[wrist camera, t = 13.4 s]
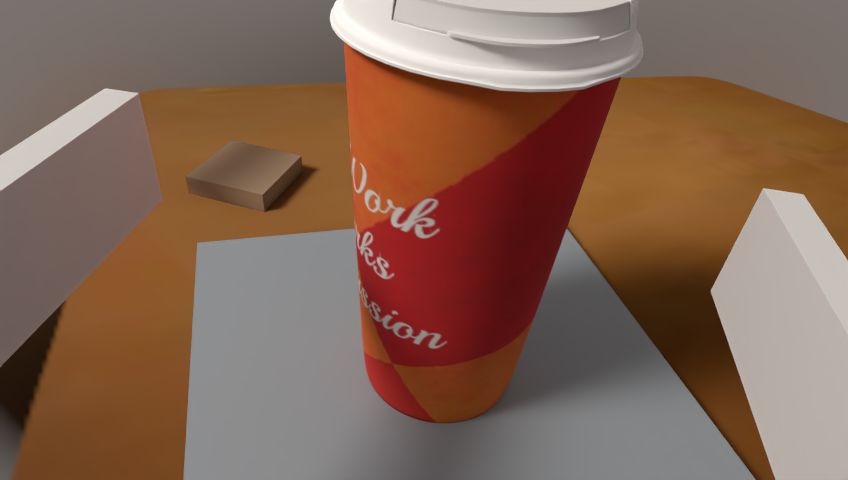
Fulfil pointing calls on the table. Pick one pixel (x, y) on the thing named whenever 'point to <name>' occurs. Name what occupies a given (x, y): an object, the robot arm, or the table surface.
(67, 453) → the table surface
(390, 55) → the paper cup
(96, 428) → the table surface
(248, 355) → the slate board
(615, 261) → the table surface
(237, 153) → the block
